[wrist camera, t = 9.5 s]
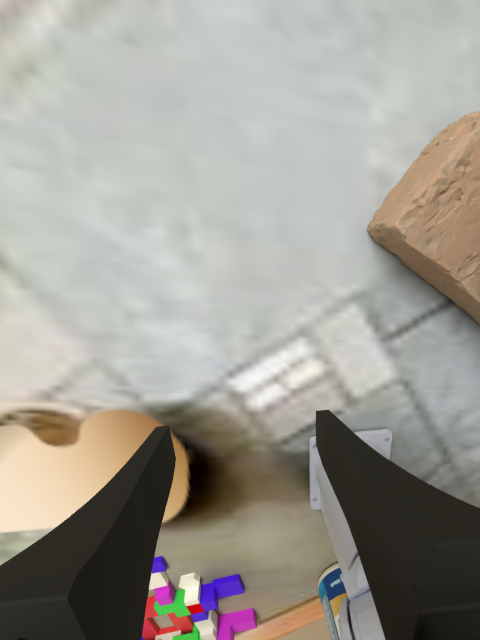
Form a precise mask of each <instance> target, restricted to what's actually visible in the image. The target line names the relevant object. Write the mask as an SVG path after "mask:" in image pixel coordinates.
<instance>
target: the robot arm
mask: <svg viewBox="0 0 480 640" xmlns="http://www.w3.org/2000/svg"><path fill="white" fill-rule="evenodd" d="M392 436H393V434H392V432H391V431H390V430H389V429H379V430H369V431H359V432H352V431H351V430H350V429H349V428H348V427H347V426H346V425H345V424H343V423H342V422H341V421H340V420H339V419H338V418H337V417H336V416H335V415H334V414H333V413H332V412H330V411H329V410H321V411H316V436H312V437H311V438H310V440H309V471H310V506H311V508H312V509H313V510H317V509H321V512H322V515H323V518H324V521H325V524H326V527H327V530H328V533H329V536H330V539H331V542H332V545H333V548H334V551H335V554H336V557H337V560H338V563H339V567H340V569H341V571H342V574H343V576H342V580H343V583H344V586H345V589H346V592H347V596H346V597H344V598H343V599H342V600H341V603H340V608H339V631H340V638H341V640H480V508H477V507H475V506H473V505H470V504H468V503H466V502H464V501H461V500H459V499H457V498H455V497H453V496H451V495H449V494H447V493H445V492H443V491H441V490H439V489H437V488H435V487H433V486H431V485H429V484H427V483H426V482H424V481H422V480H420V479H419V478H417V477H415V476H413V475H412V474H410V473H408V472H407V471H405V470H403V469H402V468H400V467H399V466H397V465H396V464H394V463H393V462H391V461H390V453H391V444H392ZM385 438H386V439H385ZM314 445H316V446H314ZM175 461H176V457H175V452H174V447H173V443H172V438H171V433H170V429H169V426H159V427H156V428H155V429H154V431H152V433H151V434H150V435H149V436H148V438H147V439H146V440H145V441H144V443H143V444H142V445H141V446H140V448H139V449H138V450H137V451H136V452H135V453H134V455H133V456H132V457H131V458H130V459H129V461H128V462H127V463H126V464H125V465H124V466H123V467H122V468H121V469H120V471H119V472H118V473H117V474H116V475H115V476H114V477H113V478H112V479H111V480H110V481H109V482H108V483H107V484H106V485H105V486H104V487H103V488H102V489H101V490H100V491H99V492H98V493H97V494H96V495H95V496H94V497H93V498H91V499H90V500H89V501H88V502H87V503H86V504H85V505H84V506H82V507H81V508H80V509H78V510H77V511H76V512H75V513H74V514H73V515H71V516H70V517H69V518H68V519H66V520H65V521H64V522H63V523H61V524H60V525H59V526H57V527H56V528H55V529H53V530H52V531H51V532H49V533H48V534H47V535H45V536H44V537H42V538H41V539H40V540H38V541H37V542H35V543H34V544H32V545H31V546H29V547H28V548H26V549H25V550H23V551H22V552H20V553H19V554H17V555H16V556H14V557H13V558H11V559H10V560H8V561H7V562H5V563H4V564H2V565H1V566H0V640H141V639H142V632H143V625H144V618H145V611H146V604H147V597H148V591H149V585H150V579H151V572H152V566H153V561H154V555H155V549H156V544H157V539H158V535H159V531H160V527H161V523H162V520H163V516H164V512H165V507H166V505H167V501H168V497H169V493H170V489H171V485H172V481H173V475H174V468H175Z"/></svg>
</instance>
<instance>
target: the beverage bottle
mask: <svg viewBox="0 0 480 640" xmlns="http://www.w3.org/2000/svg"><path fill="white" fill-rule="evenodd" d="M342 576H343V574H342V571H341V569H340V567H339V563H336V564H334V565H332V566H330V567H329V568H328V569H326V570H325V571H324V572H323V574H322V575H321V577H320V579H319V582H318V591H319V595H320V599H321V603H322V605H323V610H324V614H325V618H326V622H327V626H328V630H329V634H330V638H331V640H341V638H340V631H339V608H340V603H341V600H342V599H343V598H344V597H346V596H347V592H346V589H345V586H344V583H343V580H342Z"/></svg>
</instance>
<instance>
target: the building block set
mask: <svg viewBox="0 0 480 640" xmlns="http://www.w3.org/2000/svg"><path fill="white" fill-rule="evenodd" d="M166 569H167V564H166V562H165V560H164V558H163V557H162V556H160V557H156V558H154V561H153V566H152V572H151V579H150V585H149V590H151V589H154V590H155V591H156V596H153V597H149V598H147V604H146V611H145V618H144V625H143V632H142V639H141V640H234V633H235V632H240V631H245V630H249V629H254V628H257V621H256V614H255V612H254V610H253V608H251V609H247V610H242V611H238V612H233V613H229V614H225V615H220V616H218V615H217V613H216V612H215V610H214V609H218V598H224V597H228V596H233V595H237V594H241V593H244V585H243V583H242V581H241V579H240V577H239V575H238V574H237V575H232V576H228V577H224V578H219V579H215V580H213V583H209V584H205V585H202V586H201V584H200V576H199V575H197V574H196V573H191V574H187V575H183V576H181V578H180V581H179V587H180V588H182V589H183V590H179V591H175V589H174V588H173V586H172V584H171V583H170V581H169V579H168V578H167V576H166V574H165V573H164V571H166ZM164 614H168V616H169V617H170V619H171V620H172V622H173V624H174V625H175V626H172V627H167V628H163V629H159V628H158V626H157V625H156V623H155V622H154V620H153V619H152V617H155V616H159V615H164ZM191 617H192V618H191Z"/></svg>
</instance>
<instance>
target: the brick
mask: <svg viewBox="0 0 480 640" xmlns="http://www.w3.org/2000/svg"><path fill="white" fill-rule="evenodd" d="M367 229H368V231H369V234H370V236H372V237H373V239H374V241H376V242H377V243H379V244H381V245H382V246H383V247H384V248H386V249H387V250H388V251H389V252H391V253H393V254H396V255H397V256H398V257H399V259H400V260H401V262H402V263H403V264H404V265H405V266H407V267H409V268H410V269H411V270H413V271H414V272H415V273H417V274H418V275H419V276H420V277H422V278H423V279H424V280H425V281H426V282H428V283H429V284H432V285H433V286H434V287H435V288H436V289H437V290H439V291H440V292H442V293H443V294H444V295H446V296H447V297H448V298H450V299H451V300H453V301H454V303H455V304H456V305H458V306H459V307H461V308H462V309H464V310H465V311H466V312H467V313H468V314H469V315H470V316H471V317H472V318H473V319H474V320H475V321H476V322H477V323H478V324H479V325H480V111H479V112H473V113H470V114H468V115H466V116H464V117H462V118H461V119H460V120H458V121H457V122H454V123H452V124H450V125H448V126H447V127H446V128H445V129H443V130H442V131H441V132H440V133H439V134H438V135H437V136H435V137H434V139H433V140H432V141H431V142H430V143H429V144H428V145H427V146H426V147H425V149H424V150H423V152H422V153H421V154H420V156H419V157H418V158H417V159H416V160H415V161H414V162H413V164H412V165H411V166H410V167H409V169H408V170H407V172H406V173H405V175H404V176H403V178H402V179H401V181H400V182H399V183H398V184H397V185H396V186H395V187H394V188H393V189H392V190H391V191H390V192H389V193H388V195H387V197H386V201H385V202H384V203H383V205H382V206H381V208H380V209H379V210H378V211H377V212H376V213H375V214H374V216H373V219H372V220H371V221H370V223H369V225H368V227H367Z"/></svg>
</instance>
